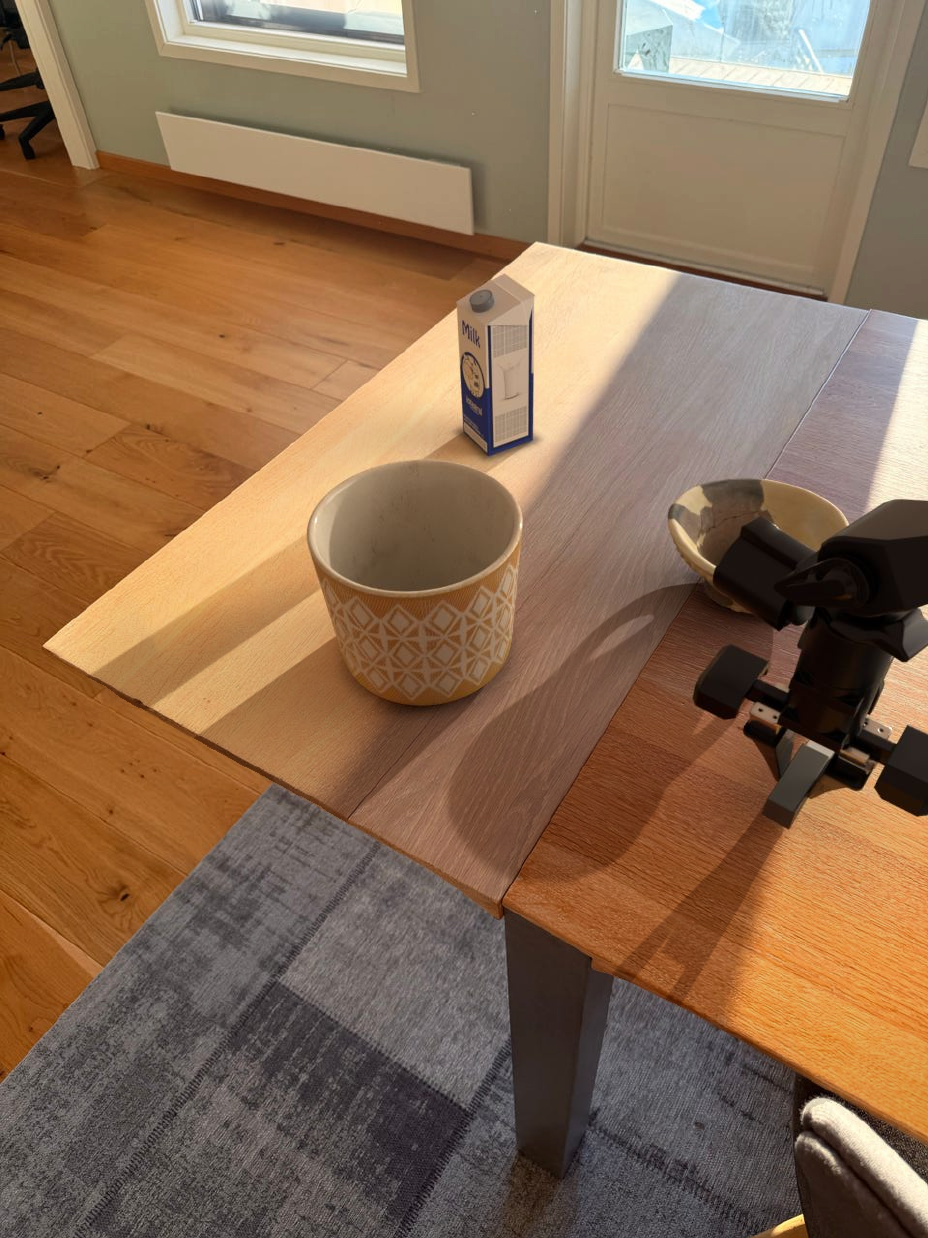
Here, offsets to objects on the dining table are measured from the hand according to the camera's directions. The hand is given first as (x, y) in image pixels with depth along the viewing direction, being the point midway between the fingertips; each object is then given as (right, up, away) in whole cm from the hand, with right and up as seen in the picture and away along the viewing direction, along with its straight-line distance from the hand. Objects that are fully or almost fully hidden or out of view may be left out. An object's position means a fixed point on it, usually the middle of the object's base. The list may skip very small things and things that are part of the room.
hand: (795, 786), depth 76 cm
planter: (-31, +11, +17) cm, 37 cm away
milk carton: (-23, +38, +44) cm, 62 cm away
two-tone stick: (+3, +2, +3) cm, 5 cm away
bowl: (+2, +17, +21) cm, 27 cm away
